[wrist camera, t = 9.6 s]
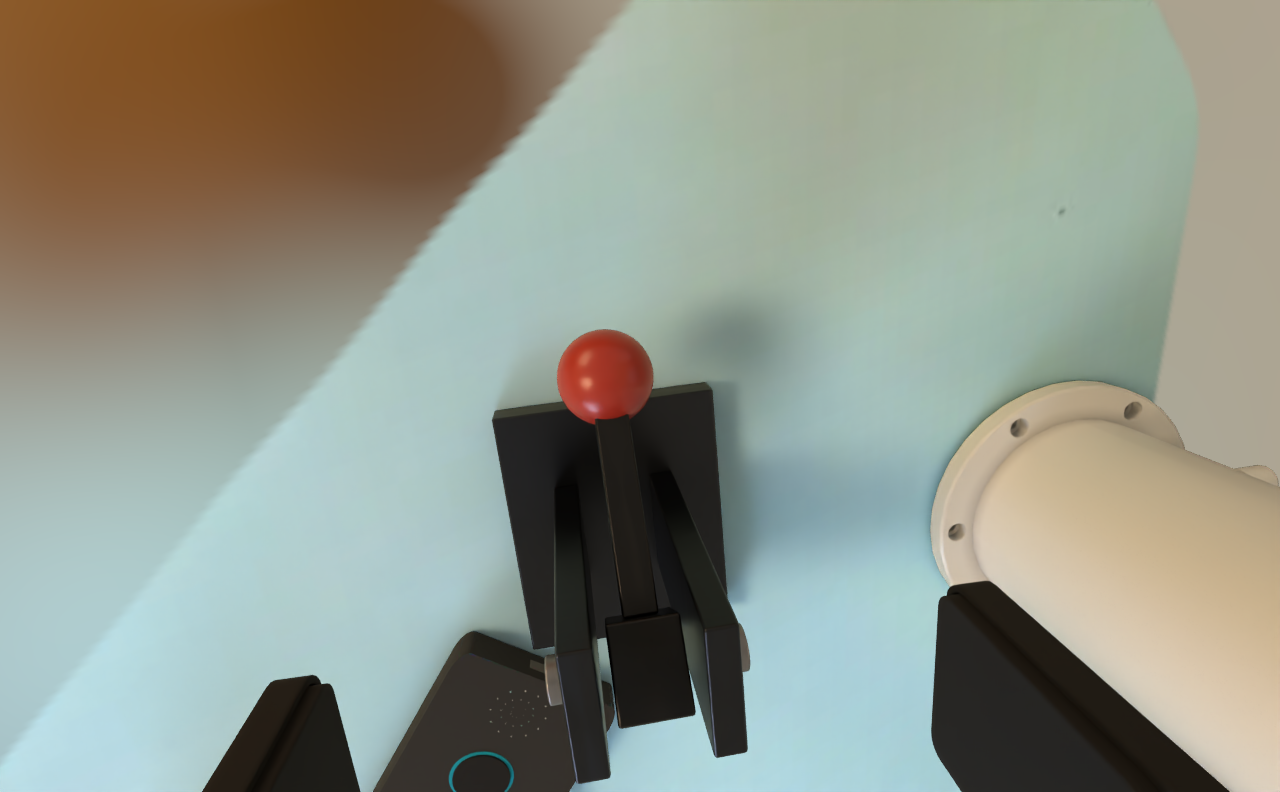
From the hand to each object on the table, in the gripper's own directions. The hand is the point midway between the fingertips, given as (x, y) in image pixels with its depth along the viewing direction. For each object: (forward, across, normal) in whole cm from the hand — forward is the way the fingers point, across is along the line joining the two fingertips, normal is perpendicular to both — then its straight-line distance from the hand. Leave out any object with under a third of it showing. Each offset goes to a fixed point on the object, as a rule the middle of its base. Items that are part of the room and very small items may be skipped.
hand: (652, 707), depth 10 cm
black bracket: (+18, 0, +6) cm, 19 cm away
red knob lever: (+12, 0, +3) cm, 12 cm away
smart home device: (+18, +10, +21) cm, 30 cm away
